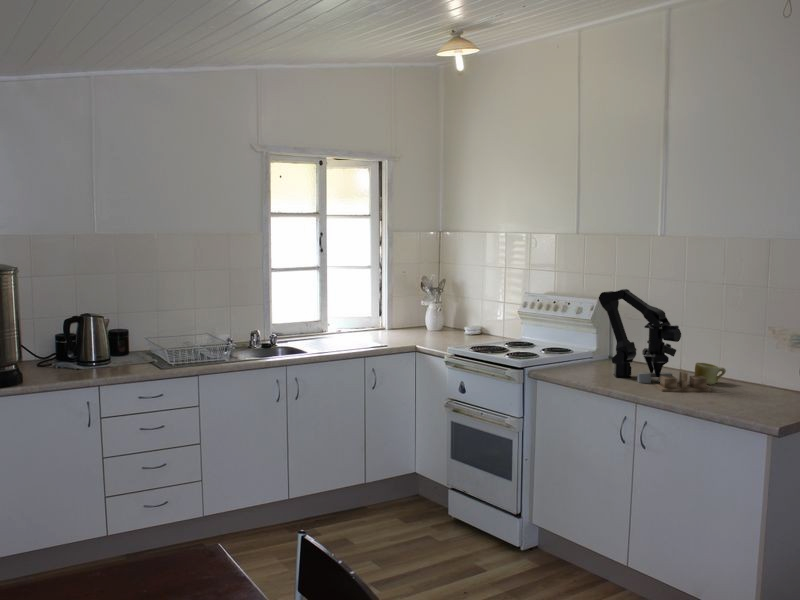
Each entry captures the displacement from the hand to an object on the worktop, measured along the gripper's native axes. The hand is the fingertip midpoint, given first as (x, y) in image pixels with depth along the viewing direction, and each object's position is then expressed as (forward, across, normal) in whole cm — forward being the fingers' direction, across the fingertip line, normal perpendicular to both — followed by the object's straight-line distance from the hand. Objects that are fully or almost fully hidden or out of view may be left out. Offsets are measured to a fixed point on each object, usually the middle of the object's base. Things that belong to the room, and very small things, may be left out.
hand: (654, 374), depth 326 cm
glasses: (+3, 0, 0) cm, 3 cm away
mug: (+4, -1, -23) cm, 23 cm away
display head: (+3, -13, -8) cm, 16 cm away
